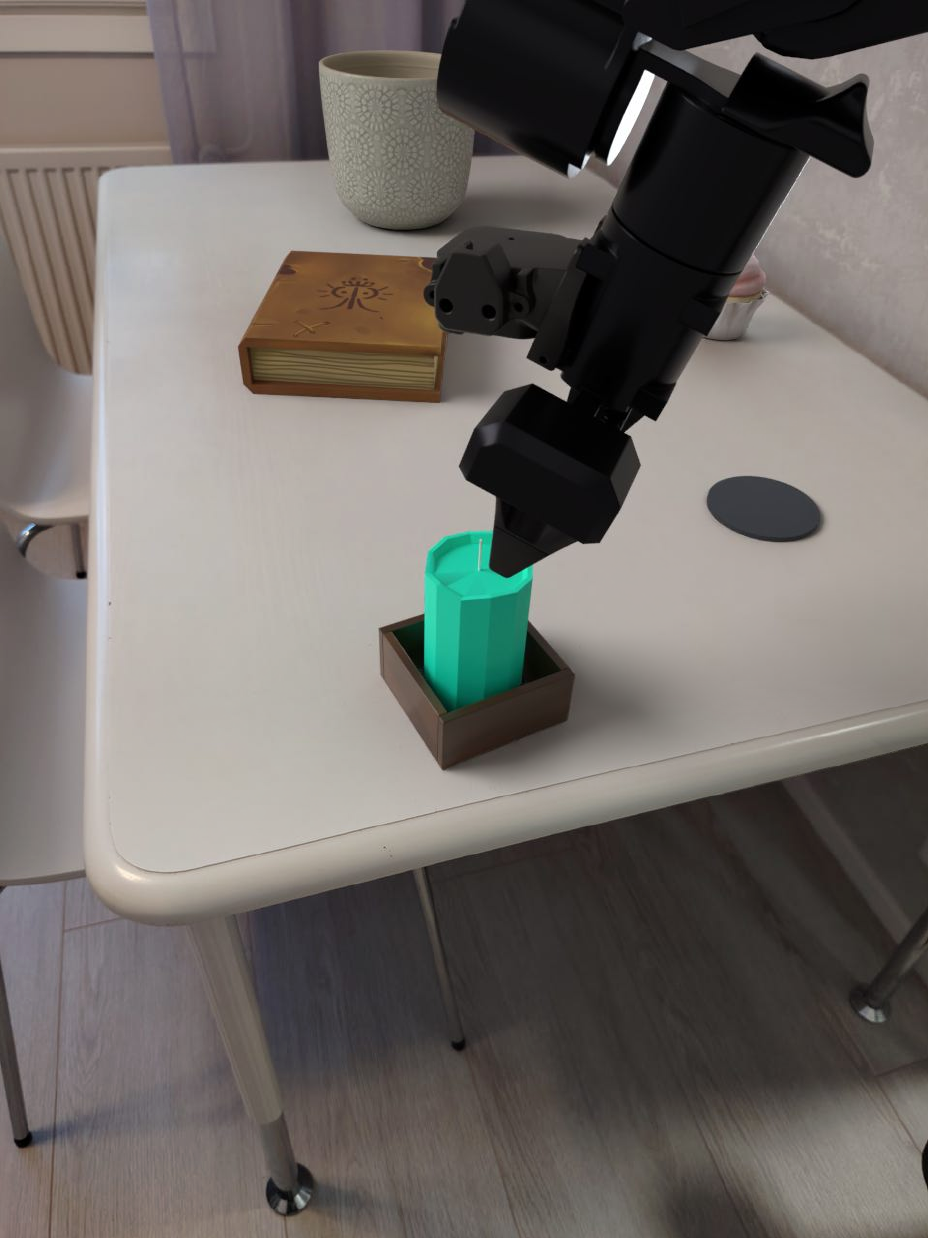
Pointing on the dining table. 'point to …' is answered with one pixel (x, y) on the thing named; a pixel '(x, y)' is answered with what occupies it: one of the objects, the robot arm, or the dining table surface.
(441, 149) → the planter
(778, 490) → the coaster
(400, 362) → the diary
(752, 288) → the cupcake
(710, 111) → the robot arm
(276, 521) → the dining table surface
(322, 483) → the dining table surface
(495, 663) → the candle
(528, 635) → the holder
